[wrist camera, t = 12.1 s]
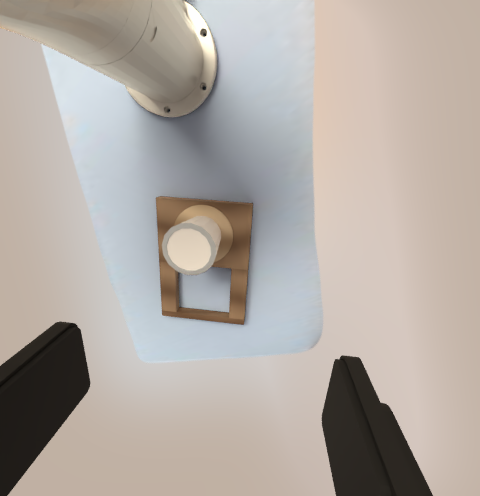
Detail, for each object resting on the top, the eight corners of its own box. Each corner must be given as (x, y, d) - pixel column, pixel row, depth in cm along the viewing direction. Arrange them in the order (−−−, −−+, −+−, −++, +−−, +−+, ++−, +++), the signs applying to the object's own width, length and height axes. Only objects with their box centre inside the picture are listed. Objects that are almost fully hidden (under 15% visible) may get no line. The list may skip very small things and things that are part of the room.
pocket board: (160, 196, 39) (155, 198, 37) (253, 203, 37) (252, 205, 36) (165, 310, 45) (161, 316, 44) (244, 319, 44) (243, 325, 43)
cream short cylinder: (187, 259, 40) (171, 279, 33) (173, 216, 38) (153, 229, 31) (230, 251, 38) (222, 270, 32) (218, 206, 36) (207, 217, 30)
